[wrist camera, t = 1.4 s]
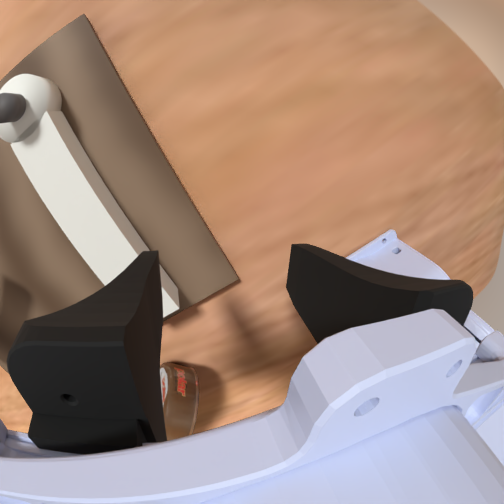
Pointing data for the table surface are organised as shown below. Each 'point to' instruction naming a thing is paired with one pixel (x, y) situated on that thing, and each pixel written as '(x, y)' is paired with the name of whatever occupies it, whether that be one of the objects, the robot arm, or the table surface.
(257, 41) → the table surface
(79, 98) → the pivot board
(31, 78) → the pivot bar
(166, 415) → the tin
